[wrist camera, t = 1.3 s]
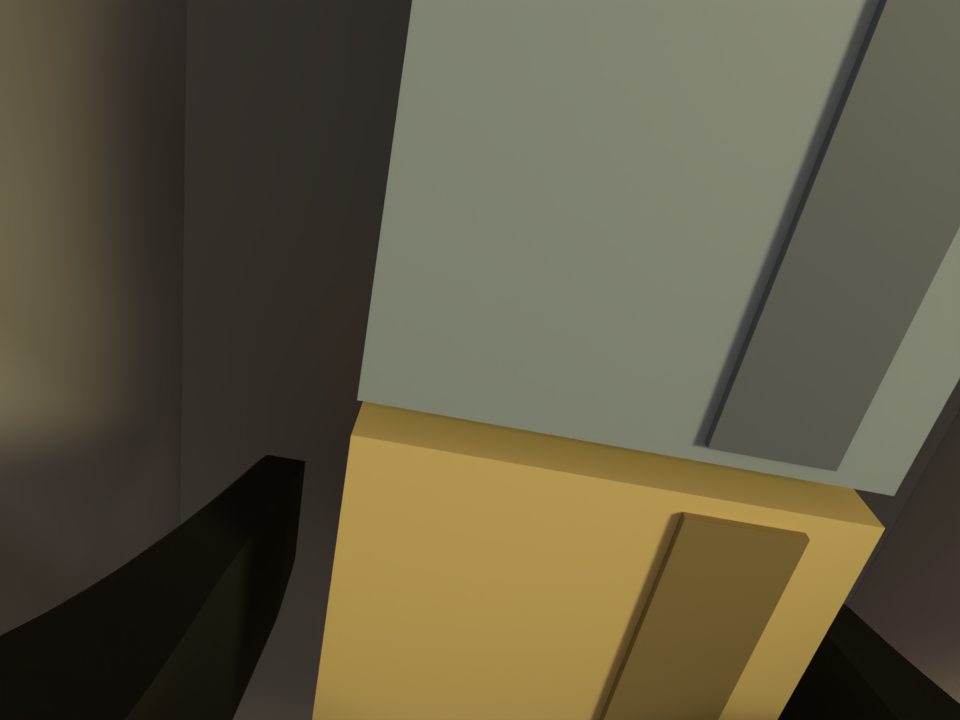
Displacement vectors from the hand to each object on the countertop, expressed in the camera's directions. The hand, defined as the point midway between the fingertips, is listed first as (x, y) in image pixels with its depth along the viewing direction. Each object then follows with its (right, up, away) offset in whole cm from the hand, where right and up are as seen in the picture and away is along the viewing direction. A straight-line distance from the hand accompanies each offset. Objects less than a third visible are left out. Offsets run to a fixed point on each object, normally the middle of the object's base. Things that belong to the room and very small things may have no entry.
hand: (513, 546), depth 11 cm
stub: (0, +2, +1) cm, 2 cm away
